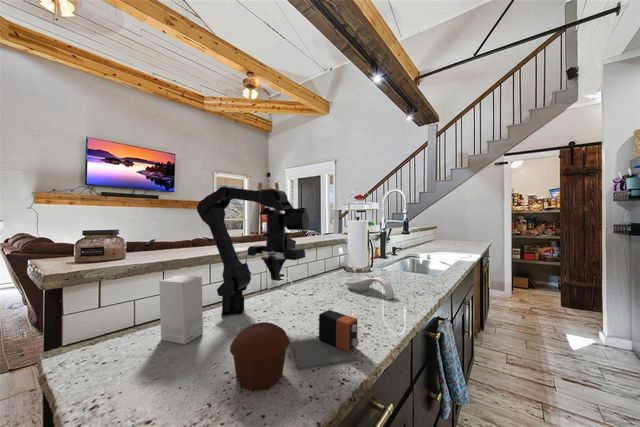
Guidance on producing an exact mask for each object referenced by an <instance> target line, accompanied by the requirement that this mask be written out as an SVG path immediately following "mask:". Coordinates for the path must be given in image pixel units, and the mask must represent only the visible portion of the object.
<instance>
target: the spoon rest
mask: <svg viewBox="0 0 640 427" xmlns="http://www.w3.org/2000/svg"><path fill="white" fill-rule="evenodd" d="M374 282H377V283H379V284H380V285H382V287H383V289H384V292H385V300H386V301H389V300H392V299H395V292H394V288H393V287H392V286H391V284H390V283H389V282H388V281H387V280H386V279H385V278H383V277H380V276H375V277H373V278H366V277H352V278H347V279H345V280H344V284H345V285H346V287H347V288H349V289H351V290H352V289H353V291H356V292H357V291H358V292H359V291H360V292H363V291H366V290H367V289H368V288H370V287H371V285H372V284H373V283H374Z"/></svg>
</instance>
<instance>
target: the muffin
mask: <svg viewBox="0 0 640 427" xmlns="http://www.w3.org/2000/svg"><path fill="white" fill-rule="evenodd" d="M289 345H291V341H290V338H289V336H288V334H287V332H286V331H285V330H284V329H283V328H282V327H281V326H279V325H277V324H275V323H272V322H264V321H263V322H256V323H253V324H250V325H249V326H246V327H245V328H243V329H242V330H241V331H240V332H239V333H238V334H237V335H236V336H235V337H234V338H233V340H232V343H231V344H230V346H229V348H230V349H229V353H230V354H231V355H232V357H233V362H234V363H233V364H234V371H235V378H236V379H235V380H236V381H237V383H238V382H239V383H238V385H239V384H240V385H239V387H240V389H242V388H245V389H244V390H246V389H248V390H247V391H249V390H250V391H249V392H251V391H252V392H251V393H256V392H260V391H268V390H270V389H271V388H273V387H274V386H275V385H278V384H279V383H280V382H281V381H280V380H281V378H282V375H283V372H284V367H285V360H286V355H287V349H288V348H289ZM255 391H256V392H255Z"/></svg>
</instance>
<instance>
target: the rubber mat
mask: <svg viewBox="0 0 640 427" xmlns="http://www.w3.org/2000/svg"><path fill="white" fill-rule="evenodd" d="M290 346H291V348H292V352H293V354H294V357H295V360H296V363H297V366H298V369H299V370H305V369H313V368H318V367H324V366H330V365H336V364H341V363H342V364H343V363H347V362H348V363H349V362H353V361H358V357H357V356H356V355H355V354H354V353H353V351H352V350H350V351H349V352H346V351H343V350H341V349H339V348H336V347H334V346H332V345H329V344H327V343H325V342H322V341H320V340H319V337H317V338H310V339H304V340H303V339H302V340H295V341H290Z"/></svg>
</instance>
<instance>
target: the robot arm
mask: <svg viewBox="0 0 640 427" xmlns="http://www.w3.org/2000/svg"><path fill="white" fill-rule="evenodd" d="M288 198H289V197H288V195H287V194H286V192H285V191H284V190H280V189H274V188H264V189H263V188H262V189H259V190H255V189H254V190H253V189H245V188H237V187H231V186H227V185H223V186H220V187H219V188H217V190H216V191H214V192H211V193H210V194H208V195H206V196H205V197H204V198H203V199H201V200H200V201H199V202H198V204H197V206H196V212H197V213H198V215H199V217H200V219H201V220H202V222H204V223H205V225H207V226H208V227H209V231H210V233H211V235H212V238H213V240H214V243H215V246H216V248H217V251H218V255H219V257H220V259H221V262H222V264H223V271H222V279H223V280H222V283H221V285H220V286H219V287H217V289H216V291H217V295H218V296H219V297H222V298H221V299H222V301H221V305H222V306H221V315H220V316H231V315H232V316H233V315H243V313H244V312H243V311H244V310H245V295H244V294H243V293H244V291H247V288H248V285H249V284H250V282H251V281H252V280H251V279H252V276H251V275H252V272H251V271H250V268H249V264H248V263H247V262H244V263H242V262H241V261H240V260H239V257H238V255H237V252H236V249H235V247H234V244H233V242H232V239H231V236H230V234H229V231H228V229H227V227H226V226H227V225H226V224H225V218H226V210H225V209H226V208H228V207H229V206H230V203H231V202H232V200H239V201H245V202H253V203H257V204H259V205H262V206H263V207H265V208H264V209H263V210H262V211H261V212H260V213H259V215H261V216H266V217H265V218H266V220H265V221H266V224H265V225H266V226H265V227H266V229H265V230H266V232H263V237H265V239H266V240H265V241H266V244H257V245H250V246H249V247H248V248H247V256H251V257H254V256H256V255H257V254H262V257H260V260H262V261H263V262H264V264H265V266H266V267H267V270H268V272H269V273H270V275H271V277H272V280H274V281H276V280H278V279H279V275H280V273H281V270H282V268H283V265H284V263H285V262H286V261H287V260H291V261H299V260H300V259H305V258H306V251H305V248H303V247H296V246H297V241H296V240H294V239H292V238H290V237H289V234H288V232H286V229H287V230H288V231H308V228H309V226H310V218H309V213H308V212H307V208H306V207H298V208H295V207H293V205H292V204H291V203H290V201H289V199H288ZM271 208H272V209H271ZM282 212H283V213H282Z"/></svg>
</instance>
